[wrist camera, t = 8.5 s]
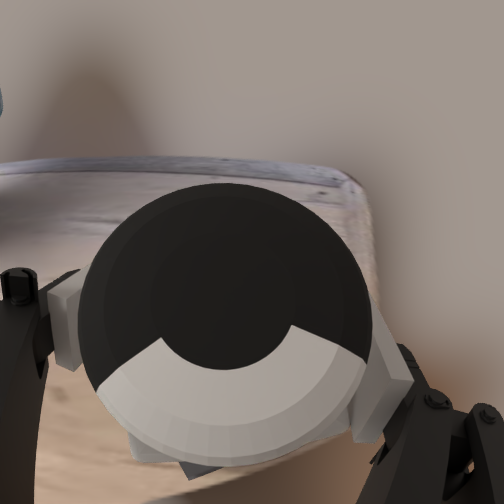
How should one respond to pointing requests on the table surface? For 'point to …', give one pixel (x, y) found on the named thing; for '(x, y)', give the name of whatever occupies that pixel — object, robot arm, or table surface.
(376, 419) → the robot arm
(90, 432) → the table surface
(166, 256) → the medicine bottle
